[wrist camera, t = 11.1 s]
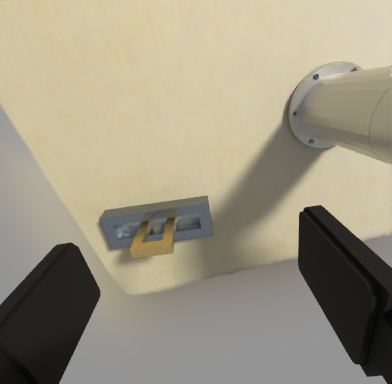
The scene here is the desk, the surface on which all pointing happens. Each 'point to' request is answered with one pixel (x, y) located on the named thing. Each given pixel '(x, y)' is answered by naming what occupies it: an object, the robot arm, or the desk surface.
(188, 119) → the desk surface
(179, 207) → the rail
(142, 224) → the wooden u-shaped block
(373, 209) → the desk surface
